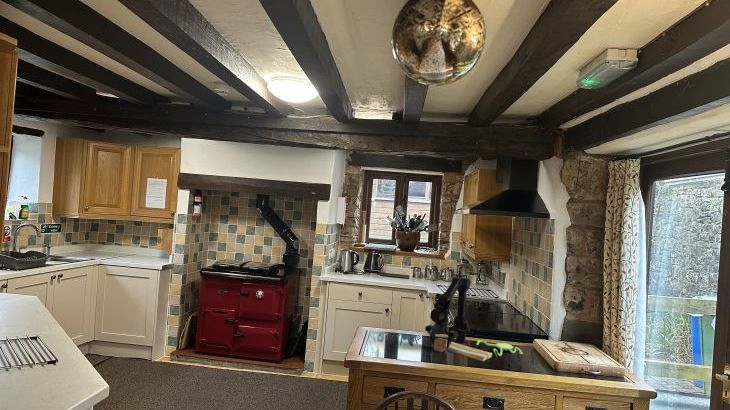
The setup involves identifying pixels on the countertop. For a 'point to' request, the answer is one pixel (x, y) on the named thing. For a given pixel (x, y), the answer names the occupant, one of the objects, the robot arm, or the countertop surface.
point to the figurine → (501, 347)
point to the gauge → (440, 344)
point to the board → (468, 351)
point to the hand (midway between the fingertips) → (440, 346)
